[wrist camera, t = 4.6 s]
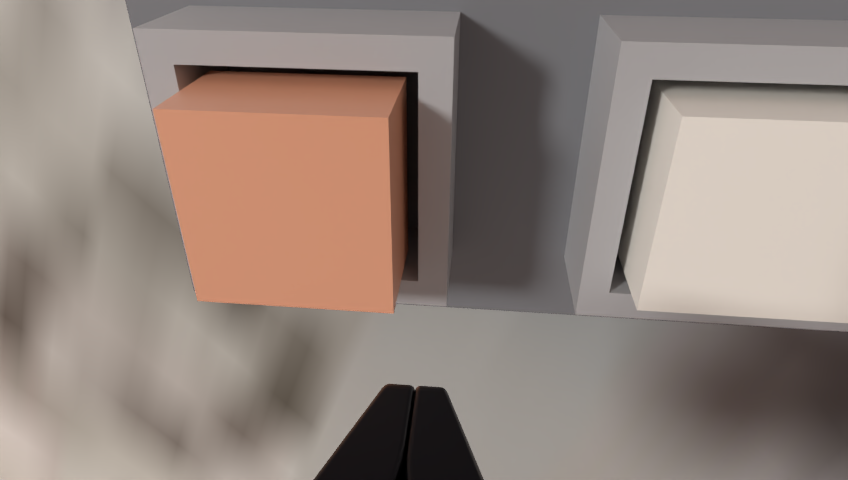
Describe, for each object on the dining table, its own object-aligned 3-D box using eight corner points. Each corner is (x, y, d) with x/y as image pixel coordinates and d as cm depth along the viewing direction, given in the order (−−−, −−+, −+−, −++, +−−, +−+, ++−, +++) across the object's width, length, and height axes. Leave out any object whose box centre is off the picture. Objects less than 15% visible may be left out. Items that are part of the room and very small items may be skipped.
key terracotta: (408, 249, 17) (393, 313, 15) (240, 240, 18) (197, 300, 15) (406, 77, 15) (388, 117, 12) (210, 70, 15) (152, 109, 13)
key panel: (811, 295, 21) (890, 399, 17) (216, 260, 23) (153, 346, 19) (970, -87, 15) (1158, -75, 11) (142, -95, 17) (25, -87, 13)
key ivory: (794, 257, 17) (848, 323, 14) (615, 247, 17) (636, 310, 15) (861, 82, 14) (940, 126, 12) (649, 76, 15) (682, 116, 12)
